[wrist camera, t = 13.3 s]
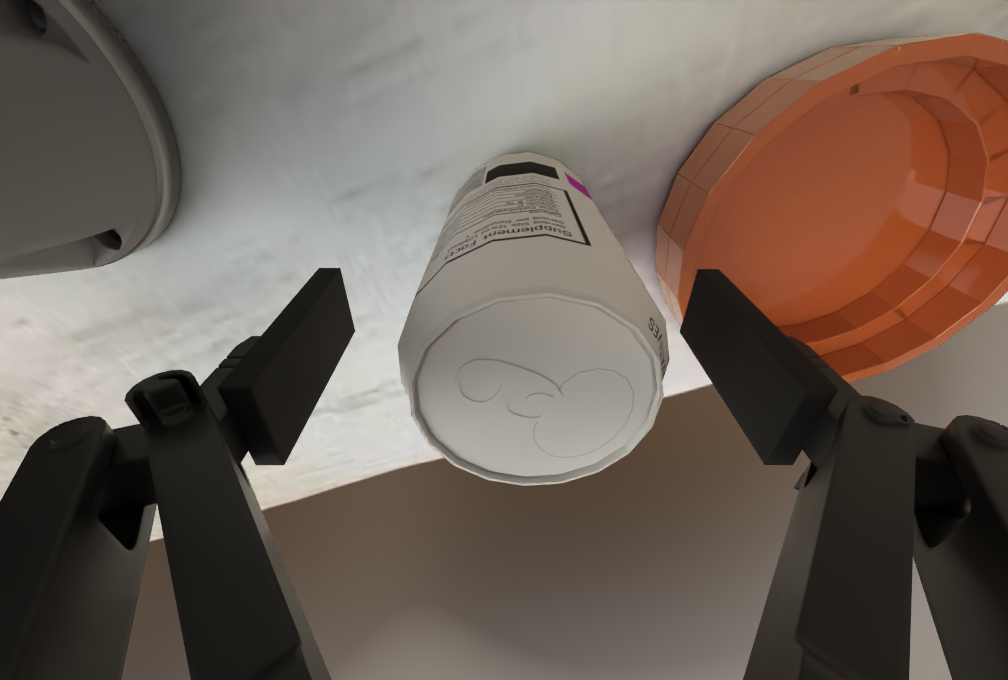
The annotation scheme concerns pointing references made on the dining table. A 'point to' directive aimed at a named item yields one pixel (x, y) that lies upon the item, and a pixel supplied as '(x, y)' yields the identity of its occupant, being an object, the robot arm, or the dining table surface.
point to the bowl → (855, 199)
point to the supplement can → (531, 331)
